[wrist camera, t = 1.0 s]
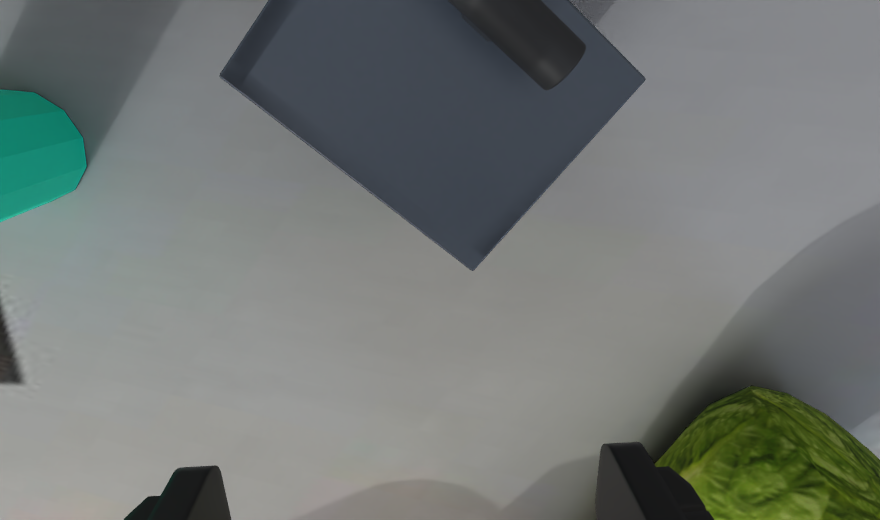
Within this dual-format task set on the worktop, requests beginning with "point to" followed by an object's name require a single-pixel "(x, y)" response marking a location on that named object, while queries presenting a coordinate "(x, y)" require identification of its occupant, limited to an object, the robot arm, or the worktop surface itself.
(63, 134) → the candle
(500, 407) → the worktop surface
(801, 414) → the lettuce
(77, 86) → the worktop surface
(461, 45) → the grey open box
